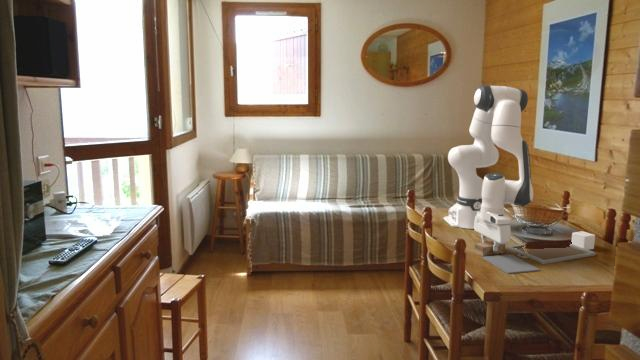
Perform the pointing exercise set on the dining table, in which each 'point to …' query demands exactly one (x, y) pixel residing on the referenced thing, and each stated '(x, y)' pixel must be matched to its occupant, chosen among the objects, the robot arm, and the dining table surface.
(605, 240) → the dining table surface
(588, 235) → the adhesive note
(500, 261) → the rubber mat
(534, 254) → the flat tray
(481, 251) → the tan rectangular block
